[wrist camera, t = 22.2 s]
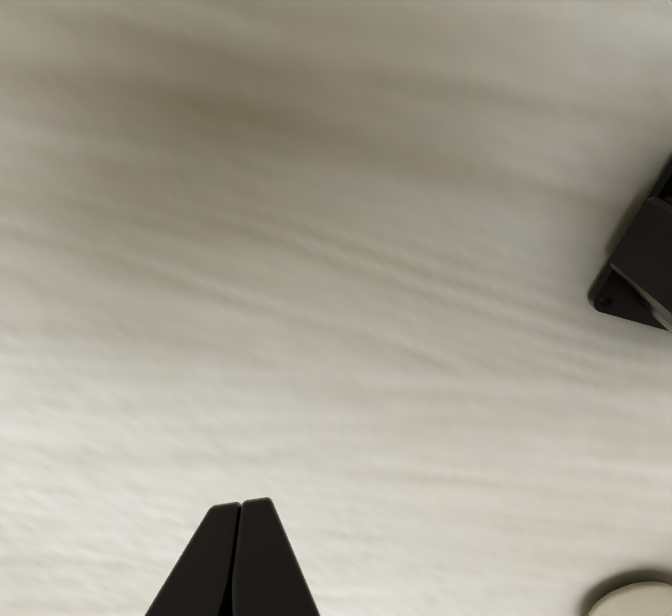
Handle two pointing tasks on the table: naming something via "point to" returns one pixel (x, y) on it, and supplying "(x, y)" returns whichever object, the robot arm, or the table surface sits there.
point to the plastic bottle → (636, 601)
